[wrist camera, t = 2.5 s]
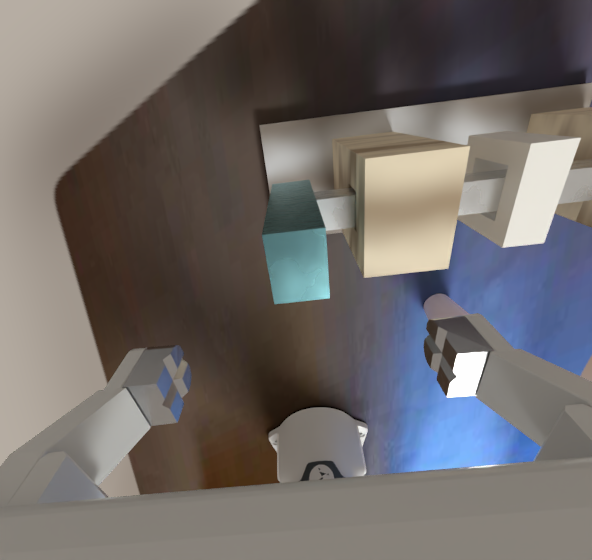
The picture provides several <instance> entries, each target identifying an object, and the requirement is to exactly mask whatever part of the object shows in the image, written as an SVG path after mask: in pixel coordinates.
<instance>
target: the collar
mask: <svg viewBox="0 0 592 560" xmlns="http://www.w3.org/2000/svg"><path fill="white" fill-rule="evenodd" d="M580 140H581V137H569V136H558V135H546V134H535V133H523V132H512V131H502V132H493V133H485V134H477V135H469V138H468V144H467V145H468V146H470V150H469V156H468V161H467V167H466V173H465V174H468V173H476V172H485V171H493V170H501V169H508V170H507V174H506V178H505V182H504V186H503V190H502V194H501V198H500V202H499V206H498V210H497V211H494V212H485V213H476V214H468V215H459V216H458V217H457V219H458V220H459V221H461V222H463V223H464V224H466V225H467V226H469V227H470V228H472V229H474V230H475V231H477V232H478V233H480V234H482V235H483V236H485V237H486V238H488V239H490V240H491V241H493V242H494V243H496V244H497V245H499V246H501V247H502V248H504V247H513V246H522V245H531V244H540V243H544V242H545V239H546V236H547V233H548V230H549V227H550V225H551V222H552V219H553V216H554V213H555V210H556V208H557V205H558V202H559V199H560V196H561V193H562V191H563V188H564V185H565V182H566V179H567V176H568V174H569V171H570V168H571V165H572V162H573V159H574V157H575V154H576V151H577V148H578V145H579V142H580Z"/></svg>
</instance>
